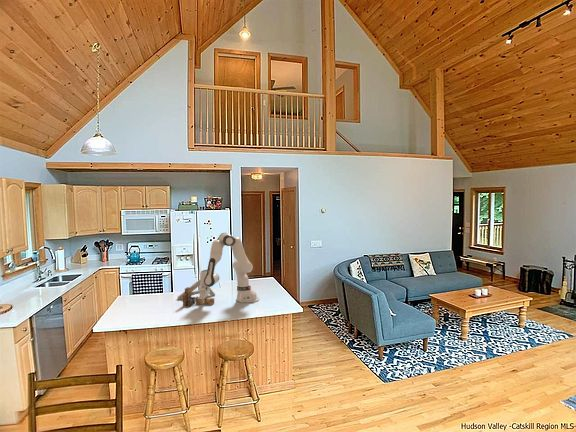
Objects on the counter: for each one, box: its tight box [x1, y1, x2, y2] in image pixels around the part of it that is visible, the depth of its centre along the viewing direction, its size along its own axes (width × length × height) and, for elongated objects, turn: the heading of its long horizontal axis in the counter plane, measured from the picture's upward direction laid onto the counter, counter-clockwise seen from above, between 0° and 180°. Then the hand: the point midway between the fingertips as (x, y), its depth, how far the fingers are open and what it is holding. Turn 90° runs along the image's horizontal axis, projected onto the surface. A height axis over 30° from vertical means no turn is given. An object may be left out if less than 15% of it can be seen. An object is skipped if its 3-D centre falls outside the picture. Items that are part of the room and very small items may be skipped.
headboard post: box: [182, 286, 196, 308], centre depth 315 cm, size 7×16×16 cm, turn 175°
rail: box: [195, 296, 215, 305], centre depth 317 cm, size 17×4×6 cm, turn 85°
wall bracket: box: [177, 279, 216, 300], centre depth 339 cm, size 22×4×30 cm
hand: (205, 301), depth 316 cm, fingers open, 8 cm apart
